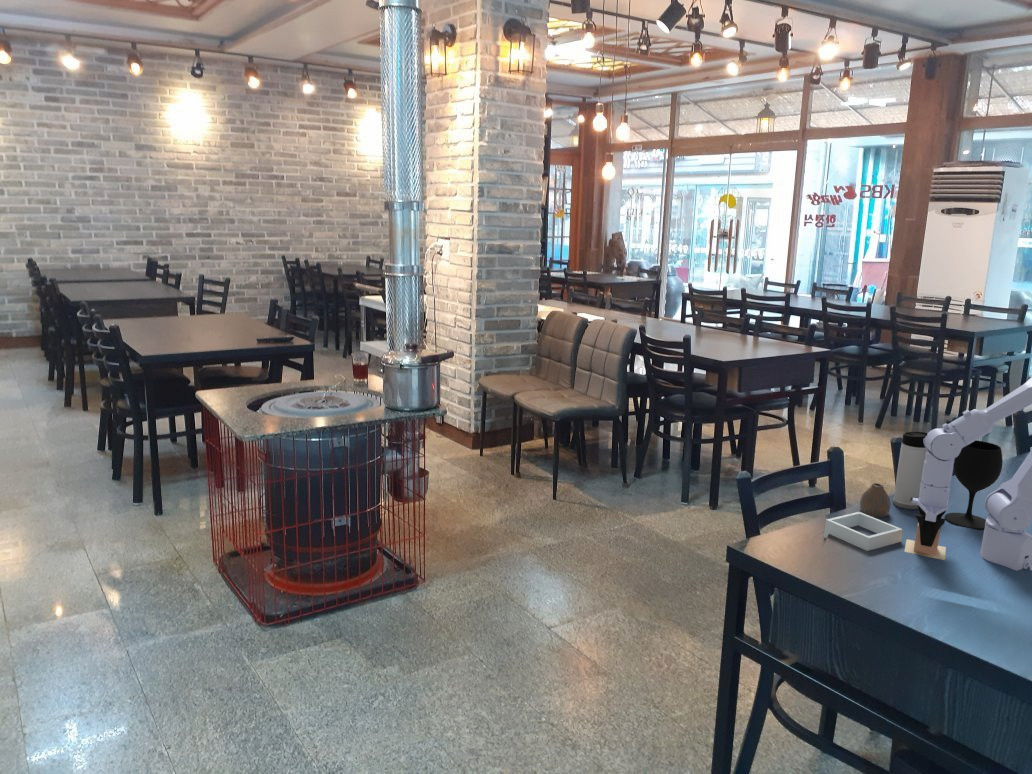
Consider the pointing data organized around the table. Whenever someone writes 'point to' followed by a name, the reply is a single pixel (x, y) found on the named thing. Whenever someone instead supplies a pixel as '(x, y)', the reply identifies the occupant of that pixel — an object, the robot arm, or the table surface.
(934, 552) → the block
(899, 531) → the bin
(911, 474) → the travel mug
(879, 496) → the vase
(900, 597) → the table surface
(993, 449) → the wine glass
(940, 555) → the base
